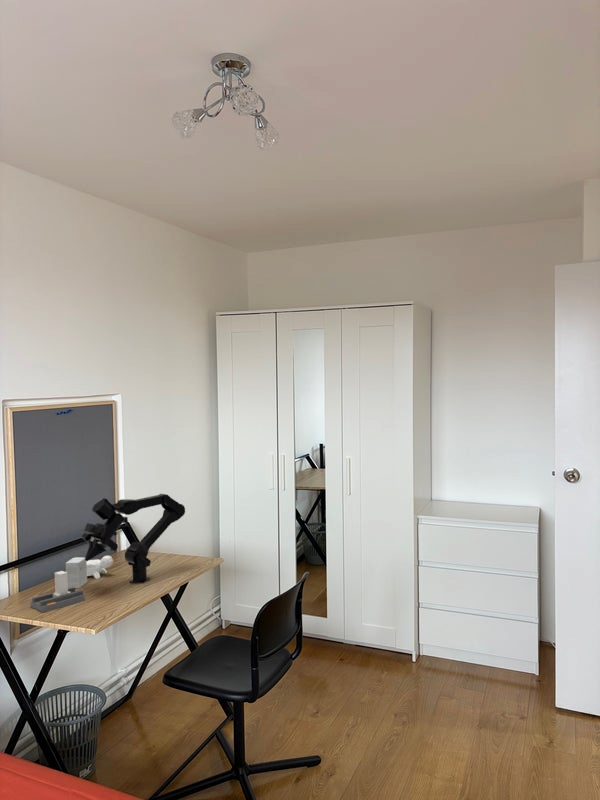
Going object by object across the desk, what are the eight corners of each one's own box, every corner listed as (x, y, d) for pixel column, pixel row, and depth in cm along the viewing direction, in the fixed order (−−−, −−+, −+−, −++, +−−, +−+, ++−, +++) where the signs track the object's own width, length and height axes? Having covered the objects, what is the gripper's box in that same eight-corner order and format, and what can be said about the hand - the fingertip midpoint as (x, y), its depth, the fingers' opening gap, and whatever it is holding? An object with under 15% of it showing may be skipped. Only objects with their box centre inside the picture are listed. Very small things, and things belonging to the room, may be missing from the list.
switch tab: (65, 593, 231) (64, 570, 231) (70, 595, 229) (69, 572, 229) (52, 597, 228) (51, 573, 228) (57, 599, 225) (56, 575, 225)
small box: (74, 582, 253) (73, 557, 253) (87, 582, 253) (86, 557, 253) (65, 588, 245) (65, 562, 245) (79, 588, 245) (78, 562, 245)
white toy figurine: (80, 586, 258) (112, 573, 257) (72, 567, 258) (104, 554, 257) (89, 580, 267) (119, 567, 265) (82, 562, 267) (112, 549, 265)
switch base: (72, 595, 236) (71, 586, 236) (84, 600, 230) (84, 591, 230) (30, 606, 225) (30, 597, 225) (43, 612, 218) (42, 602, 218)
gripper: (85, 512, 246) (59, 545, 238) (109, 517, 233) (83, 552, 225) (103, 528, 251) (79, 560, 243) (128, 534, 239) (103, 568, 231)
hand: (85, 560), depth 235 cm, fingers closed
